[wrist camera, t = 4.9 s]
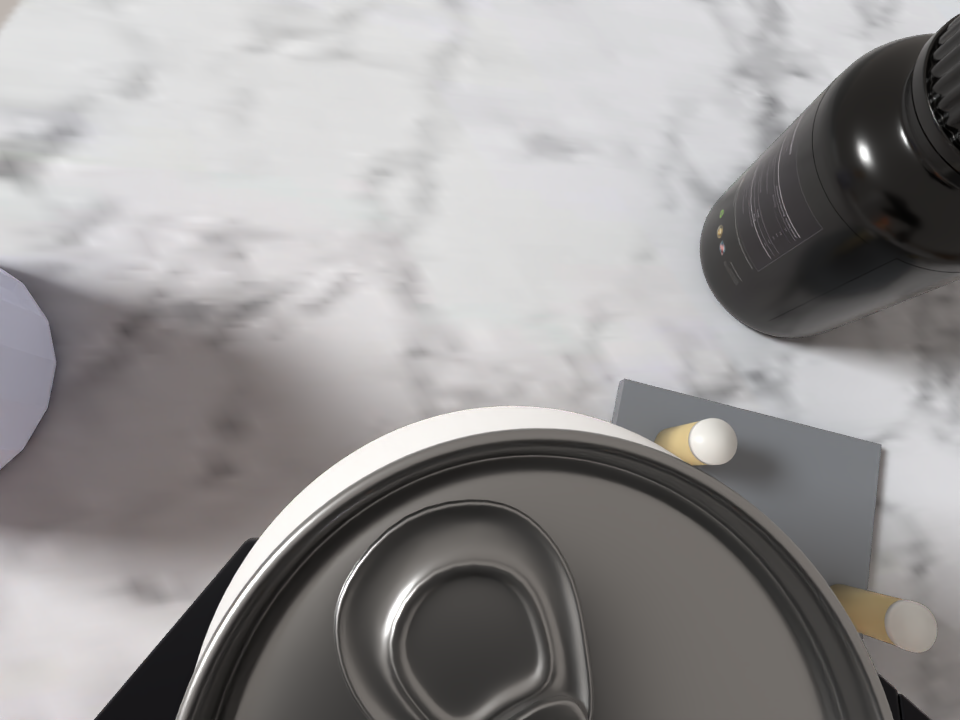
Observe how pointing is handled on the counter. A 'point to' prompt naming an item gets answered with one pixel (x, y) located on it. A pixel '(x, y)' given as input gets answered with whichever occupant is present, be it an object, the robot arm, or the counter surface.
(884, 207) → the supplement bottle
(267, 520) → the counter surface
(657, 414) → the peg board
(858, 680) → the can
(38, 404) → the soap bottle
